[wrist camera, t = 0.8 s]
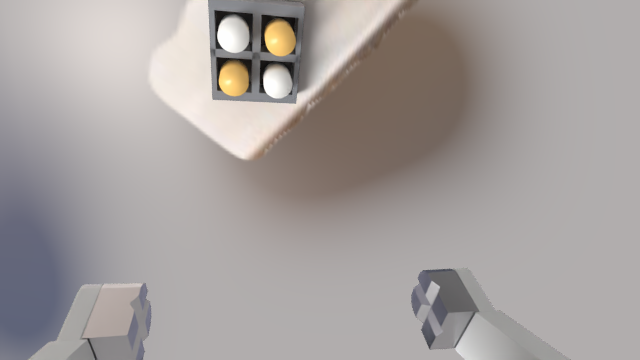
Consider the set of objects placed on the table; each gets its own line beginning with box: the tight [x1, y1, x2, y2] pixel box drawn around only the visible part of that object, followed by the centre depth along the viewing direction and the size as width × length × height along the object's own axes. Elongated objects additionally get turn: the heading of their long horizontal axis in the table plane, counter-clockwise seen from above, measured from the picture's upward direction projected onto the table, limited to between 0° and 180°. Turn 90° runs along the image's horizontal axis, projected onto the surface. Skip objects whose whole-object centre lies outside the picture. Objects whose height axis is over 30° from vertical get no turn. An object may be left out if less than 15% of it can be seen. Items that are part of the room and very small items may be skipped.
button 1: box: [219, 59, 249, 96], centre depth 39 cm, size 3×3×3 cm
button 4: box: [264, 18, 296, 56], centre depth 37 cm, size 3×3×3 cm
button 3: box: [217, 14, 249, 53], centre depth 36 cm, size 3×3×3 cm
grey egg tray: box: [208, 0, 305, 104], centre depth 39 cm, size 10×9×2 cm
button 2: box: [263, 62, 292, 98], centre depth 39 cm, size 3×3×3 cm
